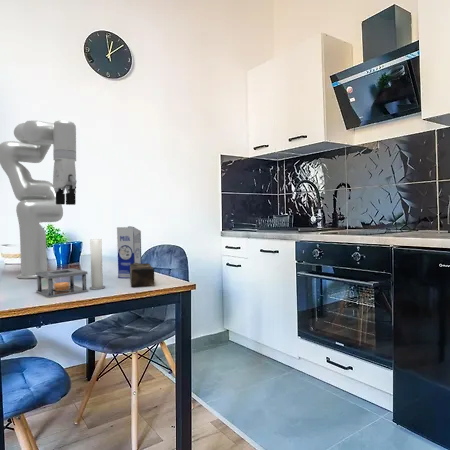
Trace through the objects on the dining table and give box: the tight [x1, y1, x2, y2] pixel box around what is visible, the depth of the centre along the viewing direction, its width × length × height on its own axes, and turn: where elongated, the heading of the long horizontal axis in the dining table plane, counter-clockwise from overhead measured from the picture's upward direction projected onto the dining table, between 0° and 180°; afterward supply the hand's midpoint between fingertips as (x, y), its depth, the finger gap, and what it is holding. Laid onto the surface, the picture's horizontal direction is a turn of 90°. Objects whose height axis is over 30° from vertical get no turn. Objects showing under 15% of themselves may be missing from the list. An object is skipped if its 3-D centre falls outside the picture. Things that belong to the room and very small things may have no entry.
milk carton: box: [116, 225, 143, 279], centre depth 150 cm, size 7×7×20 cm
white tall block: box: [89, 238, 104, 288], centre depth 127 cm, size 4×4×16 cm
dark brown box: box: [129, 262, 155, 288], centre depth 137 cm, size 8×19×7 cm, turn 16°
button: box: [53, 281, 70, 292], centre depth 122 cm, size 4×4×2 cm
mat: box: [89, 285, 106, 291], centre depth 127 cm, size 5×5×1 cm
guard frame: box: [35, 267, 89, 298], centre depth 122 cm, size 12×12×6 cm
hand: (65, 204), depth 136 cm, fingers open, 9 cm apart
